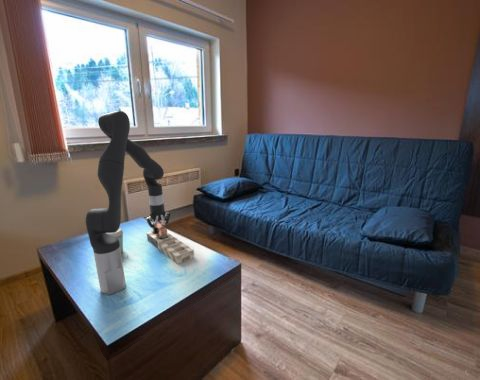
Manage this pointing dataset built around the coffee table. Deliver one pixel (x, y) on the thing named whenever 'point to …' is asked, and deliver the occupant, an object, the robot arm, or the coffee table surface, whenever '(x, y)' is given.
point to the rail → (171, 247)
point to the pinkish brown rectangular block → (161, 231)
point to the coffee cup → (118, 235)
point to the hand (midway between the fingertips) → (159, 232)
